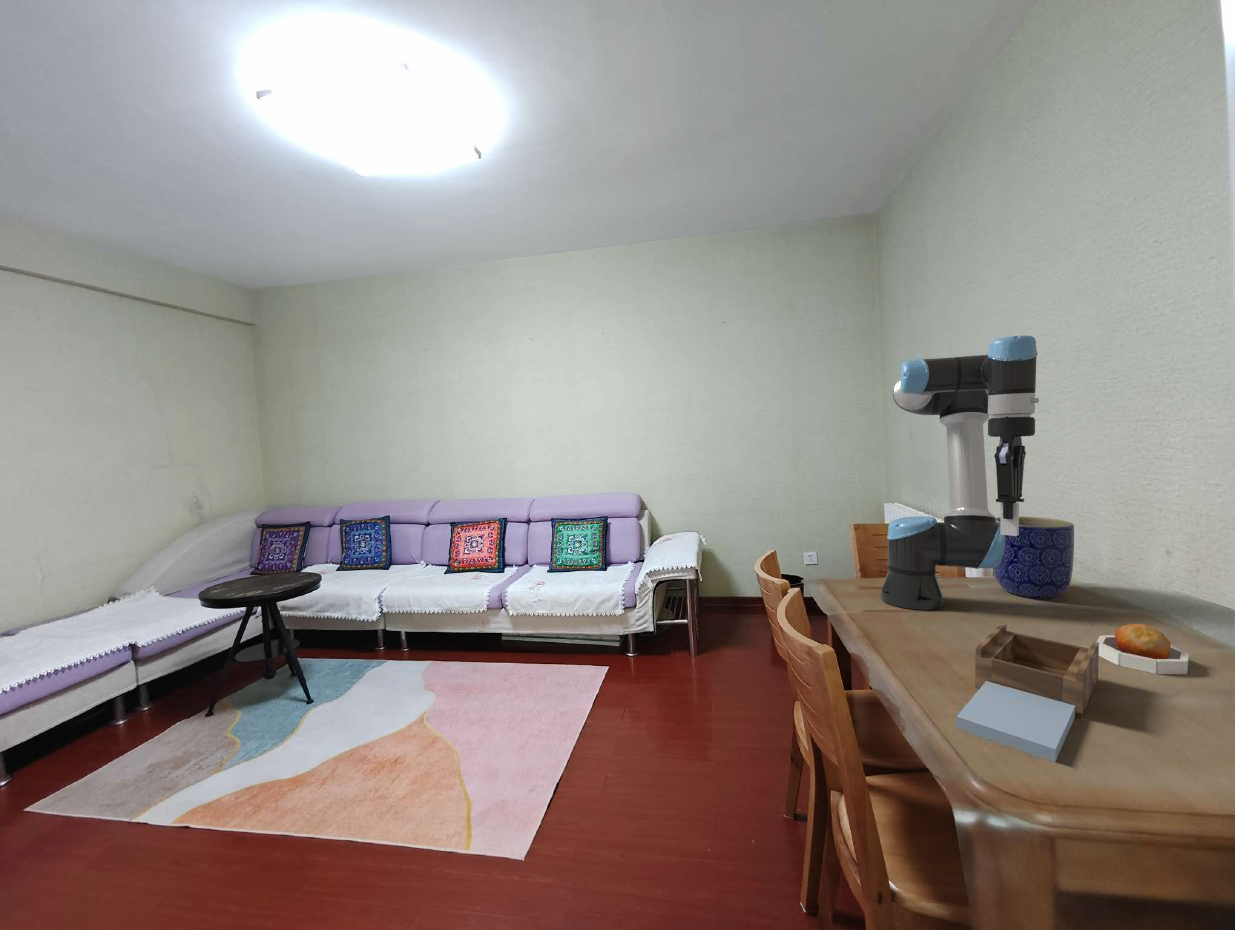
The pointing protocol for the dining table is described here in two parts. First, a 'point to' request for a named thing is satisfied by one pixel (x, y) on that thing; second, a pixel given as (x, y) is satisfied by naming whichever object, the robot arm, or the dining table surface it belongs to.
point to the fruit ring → (1143, 658)
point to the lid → (1018, 720)
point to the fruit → (1142, 641)
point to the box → (1038, 667)
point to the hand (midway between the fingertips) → (1009, 534)
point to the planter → (1037, 558)
